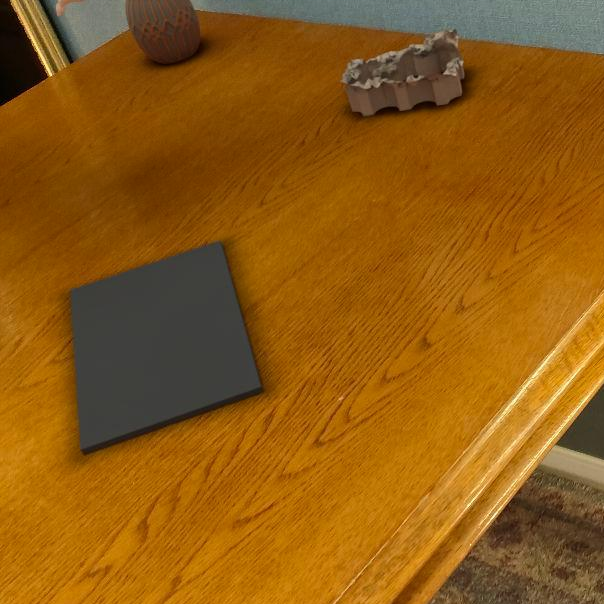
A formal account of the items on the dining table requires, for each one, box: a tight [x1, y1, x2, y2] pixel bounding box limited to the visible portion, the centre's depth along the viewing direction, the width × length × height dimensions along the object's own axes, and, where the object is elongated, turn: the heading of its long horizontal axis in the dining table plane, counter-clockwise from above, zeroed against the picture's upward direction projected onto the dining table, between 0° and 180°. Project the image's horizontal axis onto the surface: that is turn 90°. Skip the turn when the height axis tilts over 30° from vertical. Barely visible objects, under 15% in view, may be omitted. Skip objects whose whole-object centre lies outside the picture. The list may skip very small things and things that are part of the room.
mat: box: [69, 240, 265, 456], centre depth 71 cm, size 20×12×1 cm, turn 20°
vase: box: [124, 0, 201, 65], centre depth 103 cm, size 7×7×9 cm
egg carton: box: [339, 28, 465, 117], centre depth 90 cm, size 11×8×4 cm
